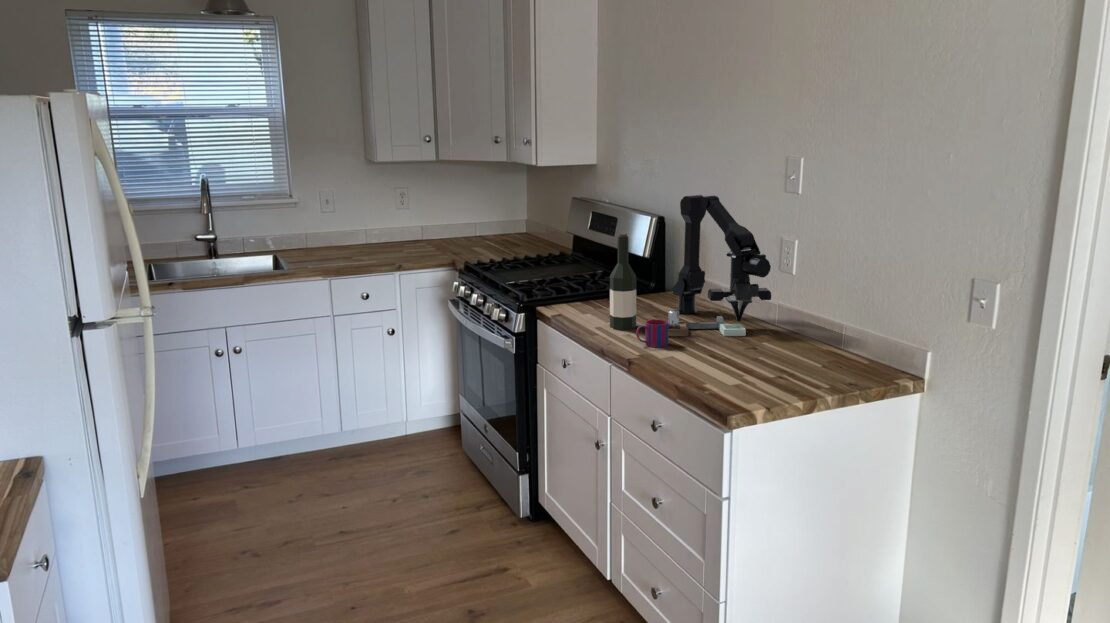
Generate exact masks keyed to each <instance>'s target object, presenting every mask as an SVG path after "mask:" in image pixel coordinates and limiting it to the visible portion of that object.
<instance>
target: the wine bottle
mask: <svg viewBox="0 0 1110 623" xmlns="http://www.w3.org/2000/svg"><path fill="white" fill-rule="evenodd" d="M609 328H611V329H612V328H613V329H612V330H614V329H616V331H630V330H632V331H633V330H634V329H636V328H637V274H636V273H635V271H634V269H633V268H632V266H631V264H630V263H629V236H628V233H623V232H622V233H619V234H618V236H617V263H616V265H615V266H614V268H613V269H612V271H611V273H610V275H609Z"/></svg>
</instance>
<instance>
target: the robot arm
mask: <svg viewBox="0 0 1110 623" xmlns="http://www.w3.org/2000/svg"><path fill="white" fill-rule="evenodd" d="M679 208H680V216H681V217H682V219H683V220H684V223H685V226H684V253H683V258H684V259H683V266H682V268H681V269H680V271H679V272H678V278H677V279H678V280H677V282H675V284H674V285H673V286H672V288H671V290H672V294H673V295H674V296H678V297H677V298H678V300H677V302H678V303H677V304H678V307H676V308H675V310H677V311H679V315H680V314H683V315H684V314H686V315H687V314H688V315H689V314H698V310H697V309H696V295H701V294H702V291H703V287H704V284H706V279H705V278H706V271H705V270H702V268H701V266H700V253H701V252H700V250H701V249H700V248H701V246H700V244H701V222H702V221H703V219H704V218H705V216H706V213H708V214H709V215H710V217H711V218H712V219H713V220H714V221H715V223H716V224H717V226H718V227H719V228H720V229H721V230H722V232H723V234H724V241H725V243H726V245H727V246H728V248H729V250H730V251H729V252H727V253H726V254H725V255H726V257H729V258H730V276H729V277H730V282H729V283H730V284H729V291H728V290H727V291H723V289H722V288H709V289H708V291H707V298H708V299H709V301H711V302H721V301H723V299H724V298H725V301H727V303H728V304H730V305H731V307H732V309H733V312H734V315H735V318H736V319H735V320H736V321H737V322H740V321H742V320H741V319H742V317H743V314H744V313H745V310H746V308H747V306H748V305H749V304H751V303H753V300H752V298H759V299H760V300H761V301H770V300H772V292H771V290H769V289H768V288H767V287H760V286H759V284H758V283H752V284H751V278H750V276H755V277H757V278H766V277H767V276H768V275H769V273H770V272H771V268H772V267H771V263H770V261H769V260H768V259H767V255H766V254H764V253H762V254H761V250H760V248H759V246H758V244H757V241H756V240H755V236H754V234H753V233H752V232H751V231H750V230H749V229H748V228H747V227H746V226H743V225H741V224H739V223H738V222H737V221H736V220H735V218H733V216H732V215H731V214H730V213H729V211H728V209H727V208H726V207H725V205H724V204H723V203H722V202H721V201H720V198H719V197H718V195H705V196H704V195H702V194H696V195H694V194H693V195H685V196H683V197H682V199H680V202H679Z"/></svg>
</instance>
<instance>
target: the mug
mask: <svg viewBox="0 0 1110 623" xmlns="http://www.w3.org/2000/svg"><path fill="white" fill-rule="evenodd" d="M636 328H637V329H636V331H635V332H636V334H635V335H636V338H637V340H638V341H640V342H641V343H645V345H646V346H647V347H650V348H664V347H667V346H668V345H669V336H668V329H669V322H668V320H666V319H665V320H664V319H657V318H656V319H649V320H646V321H645V324H644V325H639V326H638V327H636ZM642 328H645V340H644V339H643V340H642V338H641V337H640V329H642Z"/></svg>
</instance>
